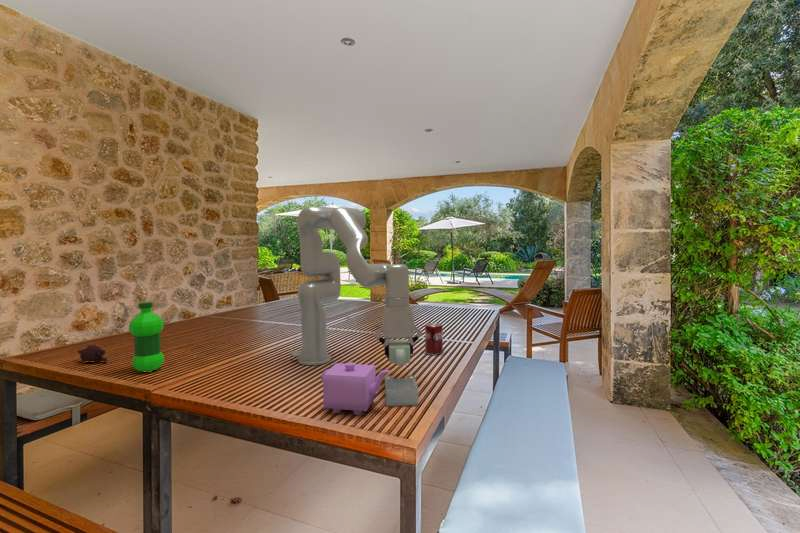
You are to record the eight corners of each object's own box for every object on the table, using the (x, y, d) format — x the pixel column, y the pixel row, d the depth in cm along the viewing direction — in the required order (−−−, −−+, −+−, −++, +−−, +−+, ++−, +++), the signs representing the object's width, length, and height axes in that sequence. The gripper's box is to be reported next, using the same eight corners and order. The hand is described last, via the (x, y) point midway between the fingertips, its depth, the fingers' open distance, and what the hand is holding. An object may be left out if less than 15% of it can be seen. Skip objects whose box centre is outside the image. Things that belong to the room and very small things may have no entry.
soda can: (444, 351, 162) (444, 323, 162) (440, 356, 156) (440, 326, 155) (427, 350, 165) (427, 322, 164) (423, 354, 158) (422, 325, 157)
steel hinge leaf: (386, 406, 108) (386, 388, 108) (384, 389, 120) (384, 373, 120) (418, 405, 109) (418, 387, 108) (413, 388, 121) (413, 373, 121)
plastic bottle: (157, 364, 148) (154, 299, 147) (170, 369, 142) (167, 302, 140) (127, 371, 140) (123, 303, 138) (139, 377, 134) (136, 305, 132)
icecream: (65, 348, 150) (93, 354, 145) (85, 338, 156) (112, 344, 152) (70, 363, 152) (98, 370, 148) (89, 353, 158) (116, 359, 154)
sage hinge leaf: (390, 368, 116) (389, 351, 116) (388, 354, 130) (388, 340, 130) (411, 367, 116) (411, 350, 116) (407, 354, 131) (407, 339, 131)
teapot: (314, 413, 104) (313, 367, 103) (328, 398, 114) (327, 356, 113) (387, 418, 100) (386, 371, 100) (394, 403, 110) (394, 359, 110)
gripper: (370, 304, 121) (372, 361, 121) (425, 303, 122) (426, 359, 123) (370, 301, 128) (372, 354, 129) (422, 299, 129) (423, 352, 130)
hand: (399, 356), depth 126 cm, fingers closed on sage hinge leaf, 6 cm apart
